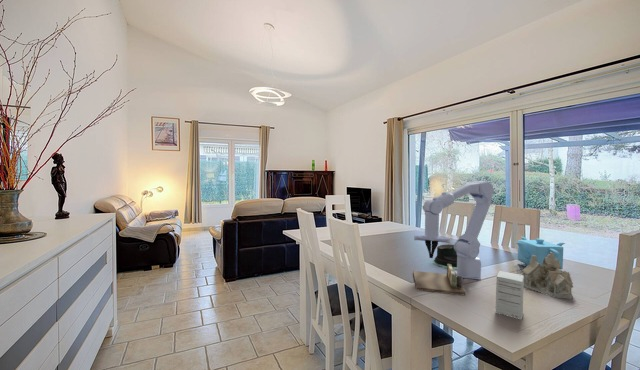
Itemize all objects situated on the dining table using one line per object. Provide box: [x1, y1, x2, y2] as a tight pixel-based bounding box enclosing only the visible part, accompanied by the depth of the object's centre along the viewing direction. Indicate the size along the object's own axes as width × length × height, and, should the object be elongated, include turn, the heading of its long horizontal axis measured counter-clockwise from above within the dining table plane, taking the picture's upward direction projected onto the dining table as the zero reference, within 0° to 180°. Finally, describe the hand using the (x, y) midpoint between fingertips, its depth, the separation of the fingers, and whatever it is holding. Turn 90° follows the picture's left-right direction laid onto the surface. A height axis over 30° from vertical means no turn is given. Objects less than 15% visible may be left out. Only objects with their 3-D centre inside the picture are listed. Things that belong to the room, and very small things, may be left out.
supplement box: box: [495, 270, 525, 320], centre depth 96 cm, size 7×7×13 cm
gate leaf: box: [446, 264, 457, 288], centre depth 120 cm, size 16×2×5 cm, turn 162°
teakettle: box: [514, 236, 566, 270], centre depth 142 cm, size 19×19×15 cm
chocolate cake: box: [431, 243, 457, 270], centre depth 149 cm, size 20×20×9 cm
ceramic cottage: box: [521, 252, 574, 300], centre depth 115 cm, size 16×16×15 cm
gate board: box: [413, 270, 467, 296], centre depth 121 cm, size 18×20×5 cm
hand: (431, 257), depth 126 cm, fingers closed
